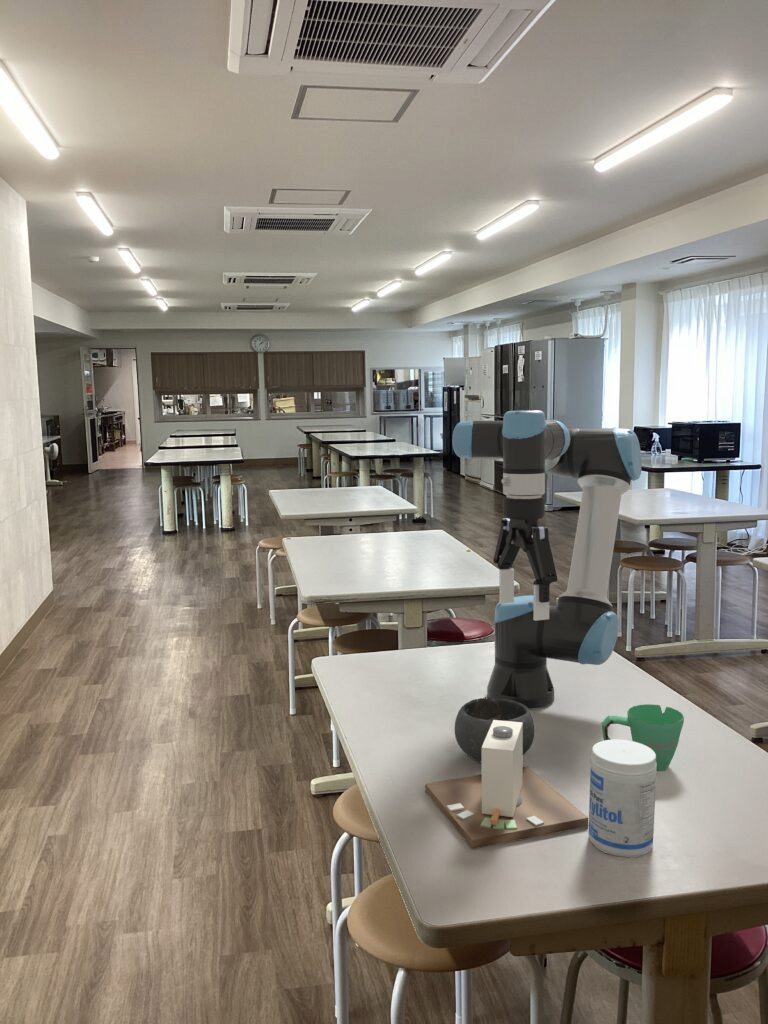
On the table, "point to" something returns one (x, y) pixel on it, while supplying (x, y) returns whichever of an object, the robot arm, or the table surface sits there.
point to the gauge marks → (487, 821)
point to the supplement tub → (622, 797)
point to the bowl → (489, 723)
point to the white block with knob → (502, 769)
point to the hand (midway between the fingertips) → (523, 610)
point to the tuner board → (531, 802)
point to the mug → (651, 730)
